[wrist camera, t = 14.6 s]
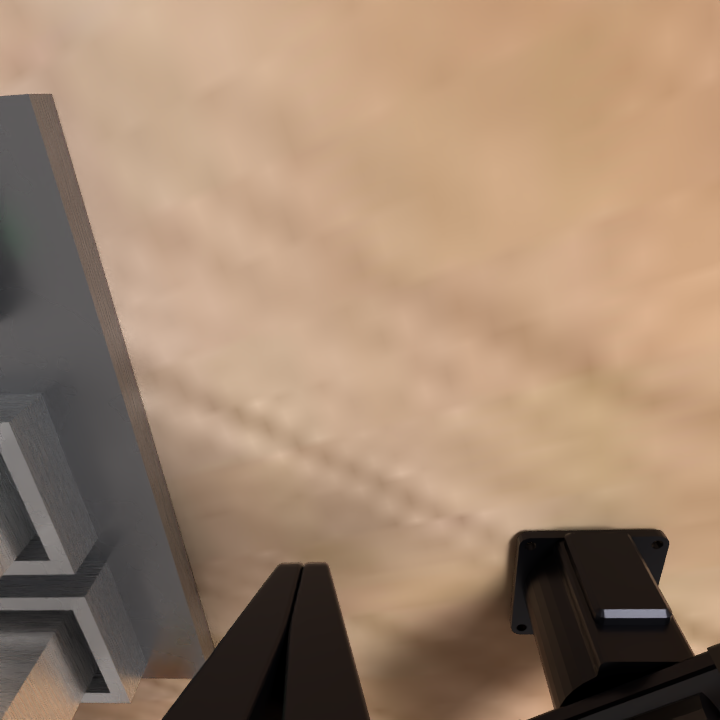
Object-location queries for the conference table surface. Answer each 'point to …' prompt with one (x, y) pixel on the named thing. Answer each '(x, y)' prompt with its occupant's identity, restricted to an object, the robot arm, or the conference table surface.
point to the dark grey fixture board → (82, 431)
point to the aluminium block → (12, 520)
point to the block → (42, 664)
